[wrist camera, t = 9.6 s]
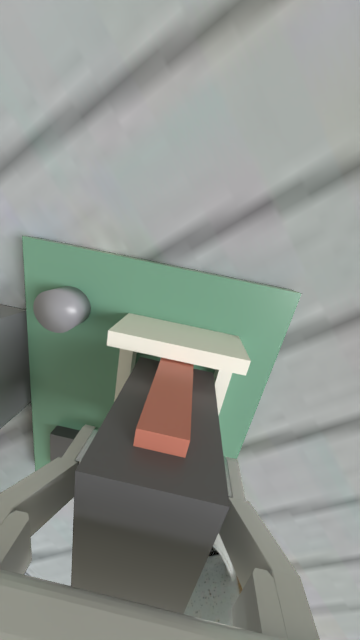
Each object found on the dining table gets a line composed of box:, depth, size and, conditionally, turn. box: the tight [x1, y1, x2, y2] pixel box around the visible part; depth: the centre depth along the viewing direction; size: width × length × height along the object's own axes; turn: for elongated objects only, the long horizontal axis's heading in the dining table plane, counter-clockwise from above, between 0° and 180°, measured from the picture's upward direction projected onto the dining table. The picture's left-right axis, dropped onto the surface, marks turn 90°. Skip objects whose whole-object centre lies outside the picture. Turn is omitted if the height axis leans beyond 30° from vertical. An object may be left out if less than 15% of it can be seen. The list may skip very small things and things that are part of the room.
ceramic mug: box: [184, 533, 243, 626], centre depth 17 cm, size 11×8×8 cm
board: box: [22, 236, 302, 471], centre depth 14 cm, size 20×16×4 cm
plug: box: [71, 357, 230, 614], centre depth 9 cm, size 7×4×6 cm, turn 169°
